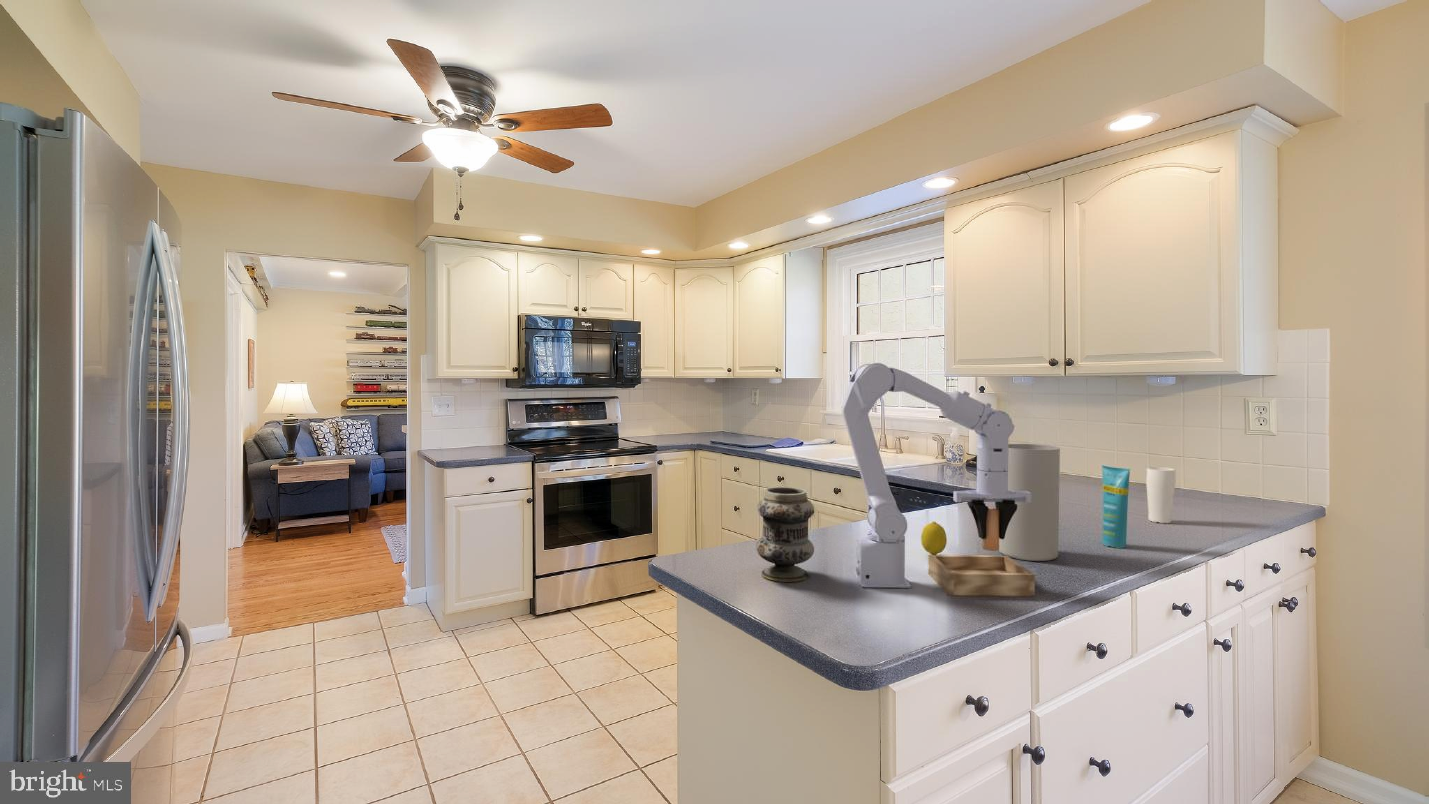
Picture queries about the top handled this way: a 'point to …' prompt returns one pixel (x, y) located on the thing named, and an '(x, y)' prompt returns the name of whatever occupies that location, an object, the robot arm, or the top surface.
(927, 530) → the lemon
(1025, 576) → the box
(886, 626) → the top surface
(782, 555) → the apothecary jar
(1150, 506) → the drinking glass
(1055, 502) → the cylinder vase
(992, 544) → the peg
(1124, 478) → the tube
